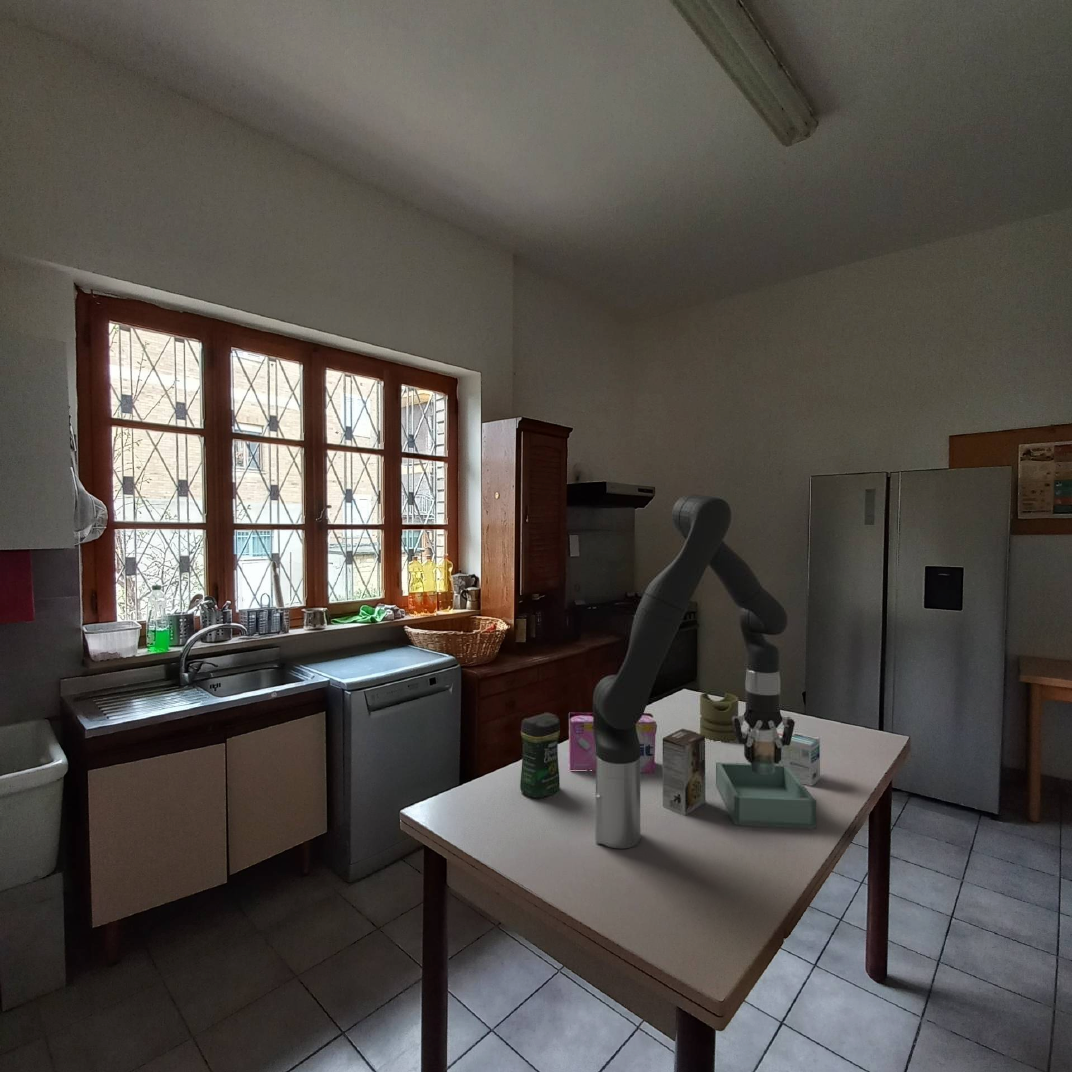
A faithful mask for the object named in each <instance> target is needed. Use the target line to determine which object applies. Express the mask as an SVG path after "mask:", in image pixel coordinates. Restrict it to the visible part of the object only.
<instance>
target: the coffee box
mask: <svg viewBox="0 0 1072 1072" xmlns="http://www.w3.org/2000/svg"><path fill="white" fill-rule="evenodd" d="M706 801H707V800H706V739H705V735H702V734H700V733H698V732H695V731H693V730H691V729H690V730H689V729H686V728H681V729H678V730H677V731H675V732H673V733H671V734H668V735H666V736H664V737H663V738H662V807H664V808H666V809H668V810H672V811H674V812H676V813H678V814H681V815H683V816H687V815H689V814H690V813H691V812H693V811H694V810H695V809H697V808H699V807H700V806H701V805H703V804H704V803H706Z"/></svg>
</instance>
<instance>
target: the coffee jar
mask: <svg viewBox="0 0 1072 1072" xmlns="http://www.w3.org/2000/svg"><path fill="white" fill-rule="evenodd" d="M560 723H561V722H560V719H559V717H558V715H556V714H553V713H550V712H544V713H541V714H538V715H534V716H532V717H527V718H523V720H522V721H521V728H520V735H521V738H522V757H521V758H522V760H521V771H520V781H519V782H520V784H519V788H520V789H519V790H520V791H521V792H522V793H523V794H524V795H526V796H527V795H528V797H530V796H531V797H532V798H537V799H538V798H540V797H541V798H544V797H546V796H549V794H550V795H551V794H554V793H556V792H558V790H560V788H561V787H560V786H561V785H560V783H561V782H560V779H561V778H560V767H559V754H558V753H559V751H558V742H559V738H560V732H561V727H560V725H561V724H560Z"/></svg>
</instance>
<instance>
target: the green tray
mask: <svg viewBox="0 0 1072 1072" xmlns="http://www.w3.org/2000/svg"><path fill="white" fill-rule="evenodd" d="M715 786H716V789H717V791H718V793H719V796H720V797H721V800H722V801H723V803H724V805H725V807H726V810H727V812H728V814H729V816H730V818H731V821H732V823H733V824H734V826H756V827H774V828H775V827H777V828H778V827H779V828H796V829H801V828H802V829H817V799H815V798H814V796H813V795H812V793H810V792H809V790H808V789H807V788H806V787H805V784H802V783H801V782H800V781H799V779H798V778H797V777H796V776H795V775H794V773H793V772H792V771H791V770H790V768H789V767H788V766H787V765H776V764H775V773H774V774H771V775H762V774H758V773H755V772H753V771H752V770H751V763H749V762H747V763H746V762H745V763H741V762H740V763H739V762H717V761H716V762H715ZM797 827H798V828H797Z"/></svg>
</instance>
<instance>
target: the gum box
mask: <svg viewBox="0 0 1072 1072" xmlns="http://www.w3.org/2000/svg"><path fill="white" fill-rule="evenodd" d="M657 728H658V724H657V720H656V719H655V718H654V716H653V713H650V712H649V713H648V712H644V713H643V715H642V717H641V718H640V720H639V721H638V722H637V723H636V731H637V735H638V739H639V742H640V773H655V763H656V762H655V760H656V759H655V756H656V735H657ZM568 741H569V742H568V752H569V753H568V761H569V762H568V764H570V767H569V771H570V770H587V771H590V770H592V771H596V745H595V740H594V730H593V712H569V713H568Z"/></svg>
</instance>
